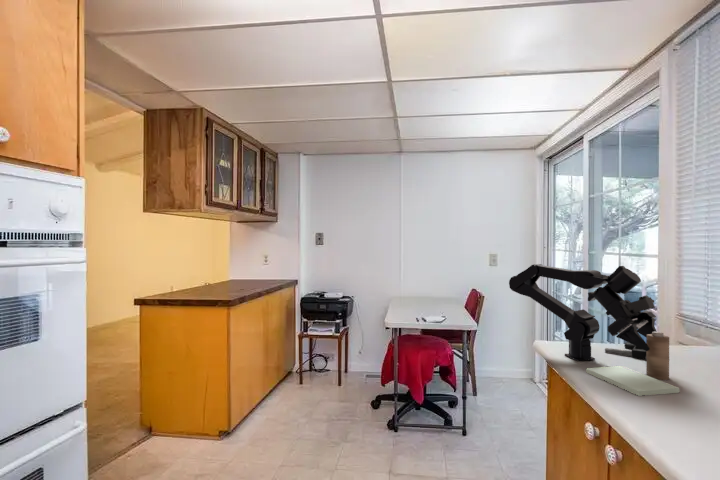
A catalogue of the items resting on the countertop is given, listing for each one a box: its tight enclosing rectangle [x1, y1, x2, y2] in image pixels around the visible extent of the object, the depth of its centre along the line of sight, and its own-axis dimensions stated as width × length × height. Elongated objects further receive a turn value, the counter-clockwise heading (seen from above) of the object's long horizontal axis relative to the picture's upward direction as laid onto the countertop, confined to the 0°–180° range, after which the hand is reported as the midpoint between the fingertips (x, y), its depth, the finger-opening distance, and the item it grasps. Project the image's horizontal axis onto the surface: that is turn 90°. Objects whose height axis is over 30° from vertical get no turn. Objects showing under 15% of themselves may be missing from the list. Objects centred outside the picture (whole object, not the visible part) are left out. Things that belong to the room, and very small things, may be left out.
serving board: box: [585, 365, 680, 397], centre depth 112 cm, size 18×12×1 cm, turn 10°
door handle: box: [604, 341, 646, 361], centre depth 138 cm, size 3×20×16 cm
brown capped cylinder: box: [645, 331, 670, 381], centre depth 116 cm, size 5×5×12 cm
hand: (655, 347), depth 116 cm, fingers open, 9 cm apart
